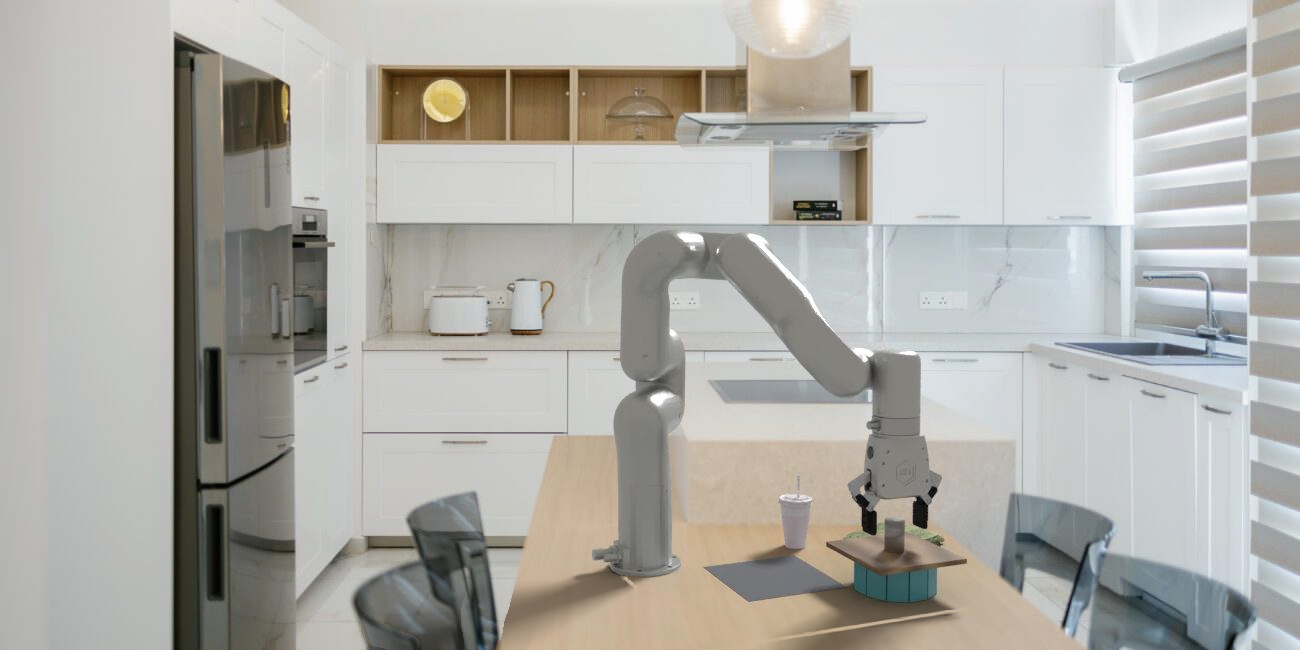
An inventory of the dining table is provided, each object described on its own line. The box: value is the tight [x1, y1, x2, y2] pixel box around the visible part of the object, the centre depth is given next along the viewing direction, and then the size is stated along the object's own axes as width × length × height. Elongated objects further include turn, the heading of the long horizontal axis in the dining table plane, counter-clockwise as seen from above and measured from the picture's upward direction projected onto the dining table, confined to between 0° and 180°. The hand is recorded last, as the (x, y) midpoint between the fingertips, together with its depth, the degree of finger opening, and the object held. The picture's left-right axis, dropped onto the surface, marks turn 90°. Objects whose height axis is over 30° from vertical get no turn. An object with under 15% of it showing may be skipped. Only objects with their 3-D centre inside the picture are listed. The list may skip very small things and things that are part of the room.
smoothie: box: [778, 474, 814, 550], centre depth 177 cm, size 6×6×14 cm
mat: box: [703, 554, 848, 603], centre depth 161 cm, size 18×18×1 cm
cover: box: [825, 516, 968, 576], centre depth 154 cm, size 16×16×6 cm
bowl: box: [852, 561, 938, 603], centre depth 155 cm, size 13×13×6 cm
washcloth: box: [842, 521, 946, 546], centre depth 179 cm, size 13×18×3 cm
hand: (894, 530), depth 154 cm, fingers open, 9 cm apart
